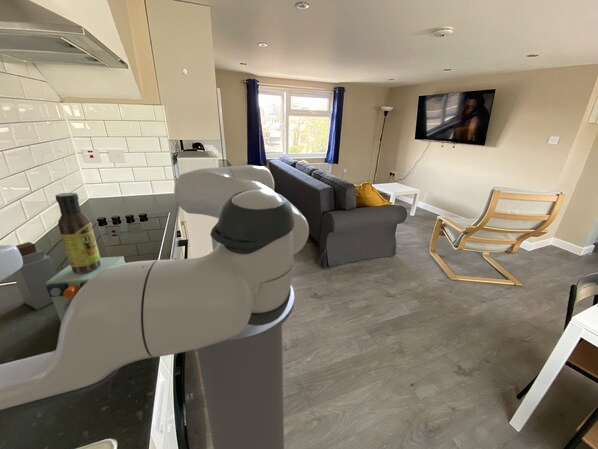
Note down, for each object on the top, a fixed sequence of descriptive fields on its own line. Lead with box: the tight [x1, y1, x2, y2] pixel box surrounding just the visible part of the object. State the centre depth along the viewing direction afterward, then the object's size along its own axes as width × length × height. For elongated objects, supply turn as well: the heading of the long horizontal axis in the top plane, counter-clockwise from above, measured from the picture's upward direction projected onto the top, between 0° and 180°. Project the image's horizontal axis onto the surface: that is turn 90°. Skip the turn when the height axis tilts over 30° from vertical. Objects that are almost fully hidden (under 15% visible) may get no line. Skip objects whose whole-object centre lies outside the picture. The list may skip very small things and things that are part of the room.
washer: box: [46, 255, 126, 324], centre depth 70 cm, size 14×12×14 cm
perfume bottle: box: [12, 241, 58, 310], centre depth 75 cm, size 7×7×18 cm
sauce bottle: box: [55, 192, 101, 273], centre depth 65 cm, size 6×6×20 cm
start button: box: [63, 285, 80, 298], centre depth 62 cm, size 2×2×2 cm
